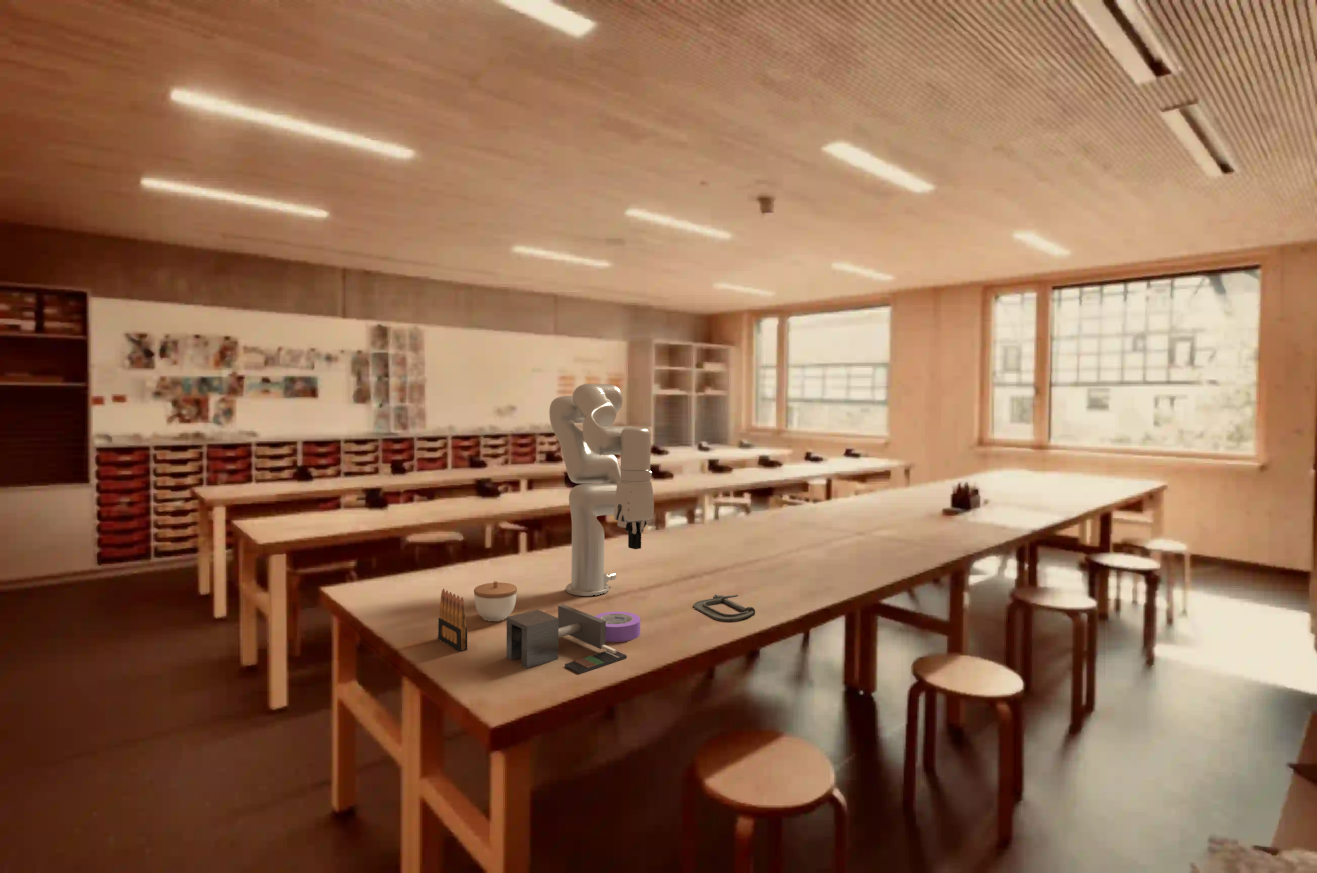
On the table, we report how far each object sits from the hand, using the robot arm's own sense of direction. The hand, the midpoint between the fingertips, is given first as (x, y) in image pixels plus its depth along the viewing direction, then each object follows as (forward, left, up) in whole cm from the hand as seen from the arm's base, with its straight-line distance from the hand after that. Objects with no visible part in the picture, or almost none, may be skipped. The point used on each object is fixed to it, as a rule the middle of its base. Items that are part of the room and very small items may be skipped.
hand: (634, 548), depth 173 cm
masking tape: (+9, +4, -19) cm, 22 cm away
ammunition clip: (+42, -15, -19) cm, 49 cm away
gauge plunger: (+27, +6, -18) cm, 33 cm away
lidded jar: (+25, -25, -19) cm, 40 cm away
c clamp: (-26, +10, -20) cm, 34 cm away
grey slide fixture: (+28, +9, -19) cm, 34 cm away
